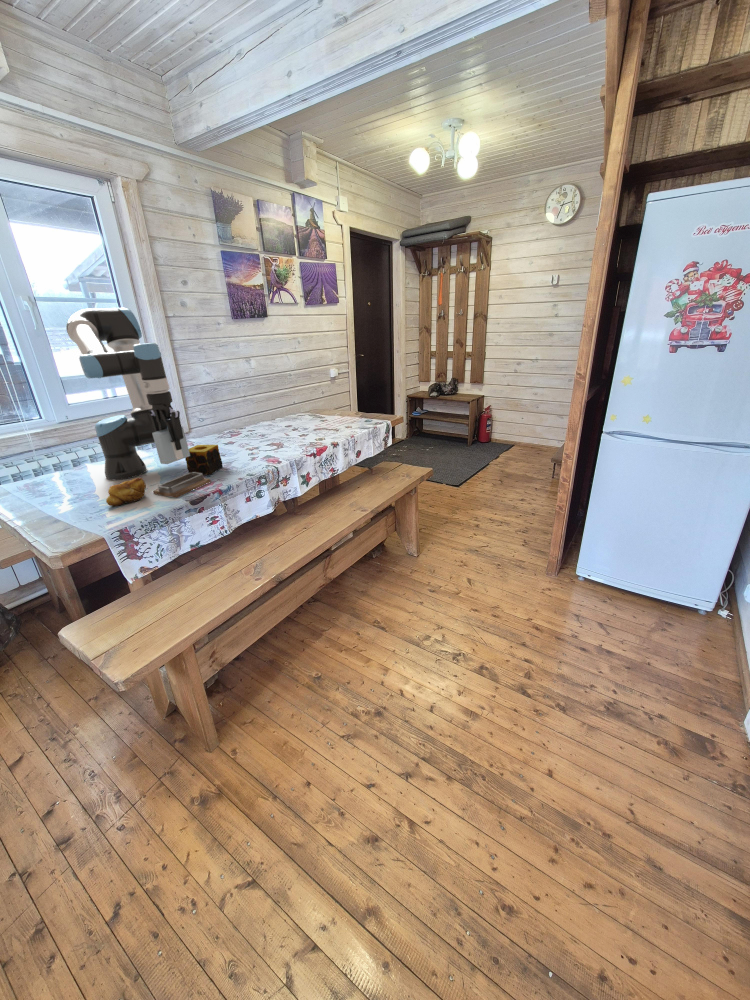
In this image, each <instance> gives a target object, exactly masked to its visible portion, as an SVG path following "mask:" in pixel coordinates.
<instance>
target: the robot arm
mask: <svg viewBox="0 0 750 1000" xmlns="http://www.w3.org/2000/svg"><path fill="white" fill-rule="evenodd" d="M65 326H66V332H67V335H68V337H69V338H70V340H71V341H72V342H74V343H76V345H77V348H78V350H79V351H80V353H81V355H79V358H78V359H79V362H80V366H81V369H82V372H83V374H84V376H85V378H88V379H102V378H110V377H117V376H122V379H123V382H124V385H125V388H126V391H127V394H128V397H129V400H130V403H131V406H132V410H131V412H130V416H131V417H129V418H128V417H127V416H126V415H125V414H119V415H114V416H111V417H106V418H103V419H101V420H100V421H98V422H96V423H95V425H94V429H95V432H96V437H97V438H98V441H99V444H100V448H101V450H102V454H103V457H104V475H105V478H106V479H107V480H111V481H117V480H118V481H119V480H126V479H127V480H128V479H131V478H134V477H135V478H136V477H138V476H140V475H142V474H144V473H146V472H147V470H148V469H147V465H146V463H145V462H144V460H143V459H142V458H141V457H140V455H139V454H138V451H137V449H136V447H141V446H145V445H151V444H155V442H154V438H153V435H152V433H154V432H157V431H161V430H164V429H168V430H169V433H170V435H171V438H172V441H171V443H172V447H173V451H174V454H175V458H176V460H178V459H181V458H183V454H182V450H181V449H182V447H181V444H180V439H183V438H184V437H183V432H182V427H183V426H182V424H181V418H180V415H181V414H180V413H181V412H180V411H179V410H174V408H173V406H172V404H171V403H172V402H173V396H172V394H171V392H170V389H171V388H170V386H169V381H168V377H167V375H166V374H167V373H166V371H165V366H164V362H163V358H162V352H161V350H160V347H159V345H158V343H155V342H150V343H149V342H148V343H147V342H146V343H141V342H140V339H141V338H142V336H143V335H142V334H143V333H142V330H141V326H140V324H139V321H138V319H137V317H136V315H135V314H134V312H133V311H132V310H131V309H129V308H126V307H111V308H110V307H105V308H85V309H84V308H83V309H80V310H78V311H76V312H75V313H73V314H72V315H71V316H70V317H69V318H68V320H67V322H66V325H65ZM103 341H104V342H105V341H106V344H107V346H108V347H110V349H112V350H113V352H112V351H111V352H109V351H108V349H107V348H106V347H105V344H104V343H103ZM181 426H182V427H181ZM183 459H184V458H183ZM181 460H182V459H181ZM178 461H179V460H178Z"/></svg>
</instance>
